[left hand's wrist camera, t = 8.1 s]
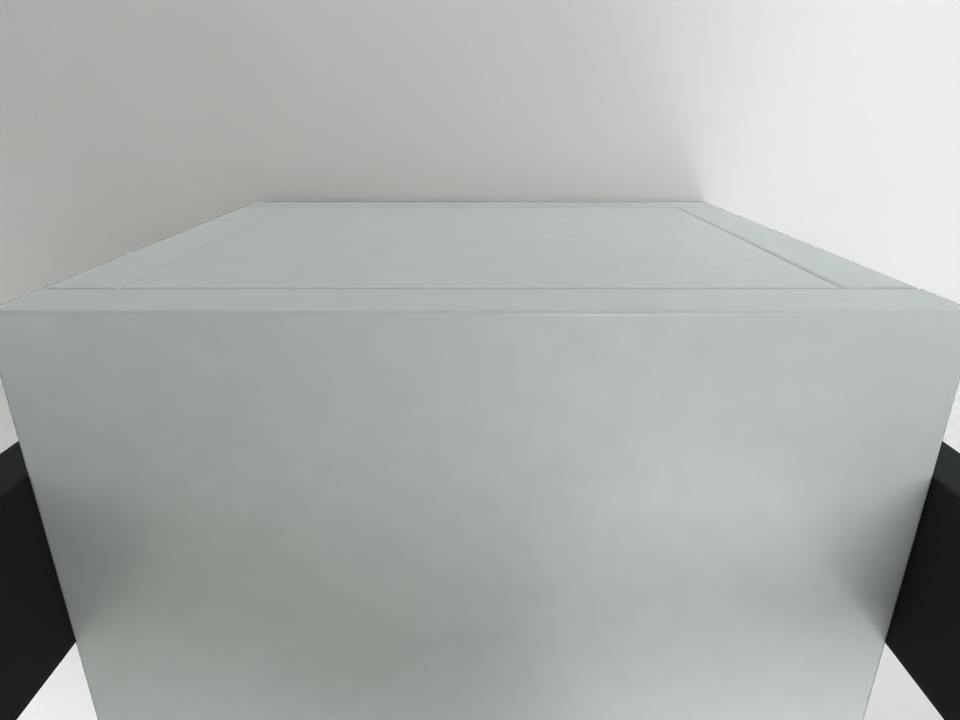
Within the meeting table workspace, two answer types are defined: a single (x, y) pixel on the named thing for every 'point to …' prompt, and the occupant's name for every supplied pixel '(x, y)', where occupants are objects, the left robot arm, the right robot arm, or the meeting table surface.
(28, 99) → the meeting table surface
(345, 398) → the cabinet
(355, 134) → the meeting table surface
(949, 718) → the left robot arm
